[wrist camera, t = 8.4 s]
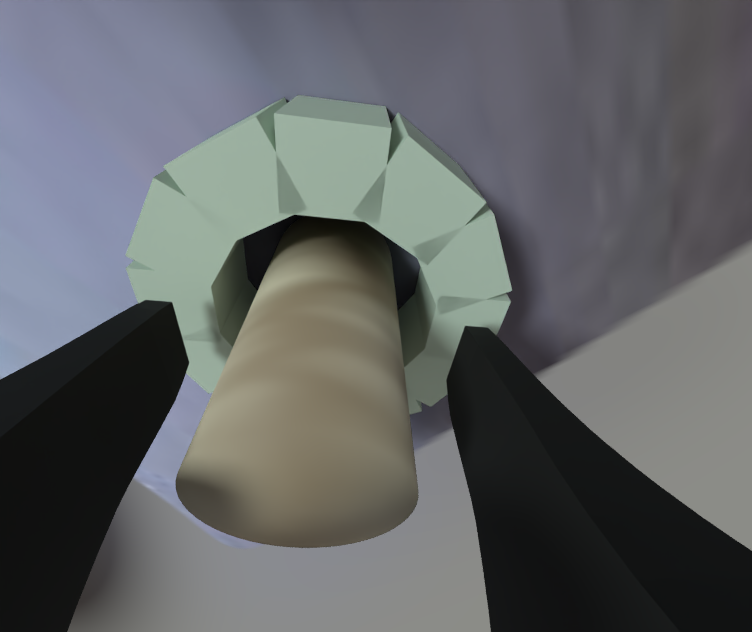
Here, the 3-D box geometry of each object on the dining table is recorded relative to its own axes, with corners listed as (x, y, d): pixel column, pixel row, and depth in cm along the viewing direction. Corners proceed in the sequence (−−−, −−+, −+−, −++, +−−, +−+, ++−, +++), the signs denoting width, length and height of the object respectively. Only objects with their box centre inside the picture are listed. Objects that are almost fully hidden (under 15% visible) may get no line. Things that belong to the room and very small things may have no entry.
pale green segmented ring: (524, 124, 10) (574, 151, 7) (441, 375, 16) (454, 434, 13) (142, 74, 9) (61, 86, 7) (209, 359, 15) (179, 419, 13)
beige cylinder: (400, 217, 11) (442, 438, 5) (384, 316, 14) (399, 549, 7) (272, 204, 11) (144, 423, 5) (278, 308, 13) (200, 545, 7)
